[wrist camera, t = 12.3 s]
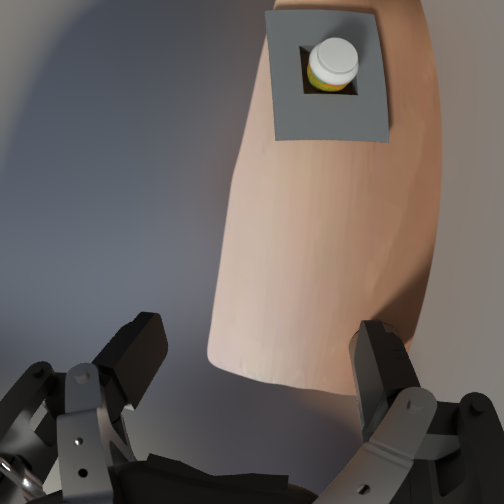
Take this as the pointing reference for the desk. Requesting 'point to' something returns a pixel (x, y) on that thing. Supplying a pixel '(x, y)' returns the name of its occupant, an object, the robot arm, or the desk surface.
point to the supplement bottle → (332, 65)
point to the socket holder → (326, 105)
